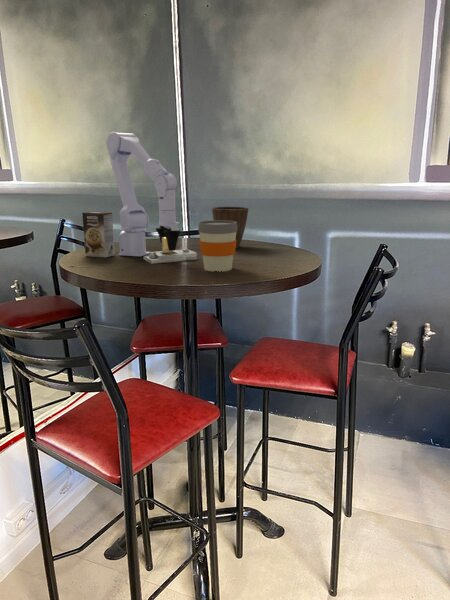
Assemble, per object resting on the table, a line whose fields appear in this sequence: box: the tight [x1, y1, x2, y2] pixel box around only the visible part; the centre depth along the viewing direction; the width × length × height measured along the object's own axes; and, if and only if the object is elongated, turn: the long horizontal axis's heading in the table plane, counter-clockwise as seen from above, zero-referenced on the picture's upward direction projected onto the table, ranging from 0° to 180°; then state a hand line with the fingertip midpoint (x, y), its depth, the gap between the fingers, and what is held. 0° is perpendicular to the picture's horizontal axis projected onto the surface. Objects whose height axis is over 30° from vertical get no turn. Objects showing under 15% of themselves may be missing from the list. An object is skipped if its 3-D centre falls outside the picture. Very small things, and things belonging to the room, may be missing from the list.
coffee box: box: [81, 211, 115, 259], centre depth 174 cm, size 9×6×16 cm
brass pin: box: [161, 237, 174, 255], centre depth 167 cm, size 4×4×8 cm
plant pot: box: [211, 206, 249, 249], centre depth 192 cm, size 15×15×16 cm
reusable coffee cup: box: [197, 220, 237, 273], centre depth 151 cm, size 13×13×15 cm
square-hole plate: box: [143, 248, 198, 265], centre depth 168 cm, size 17×9×3 cm, turn 116°
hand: (168, 248), depth 167 cm, fingers open, 7 cm apart
